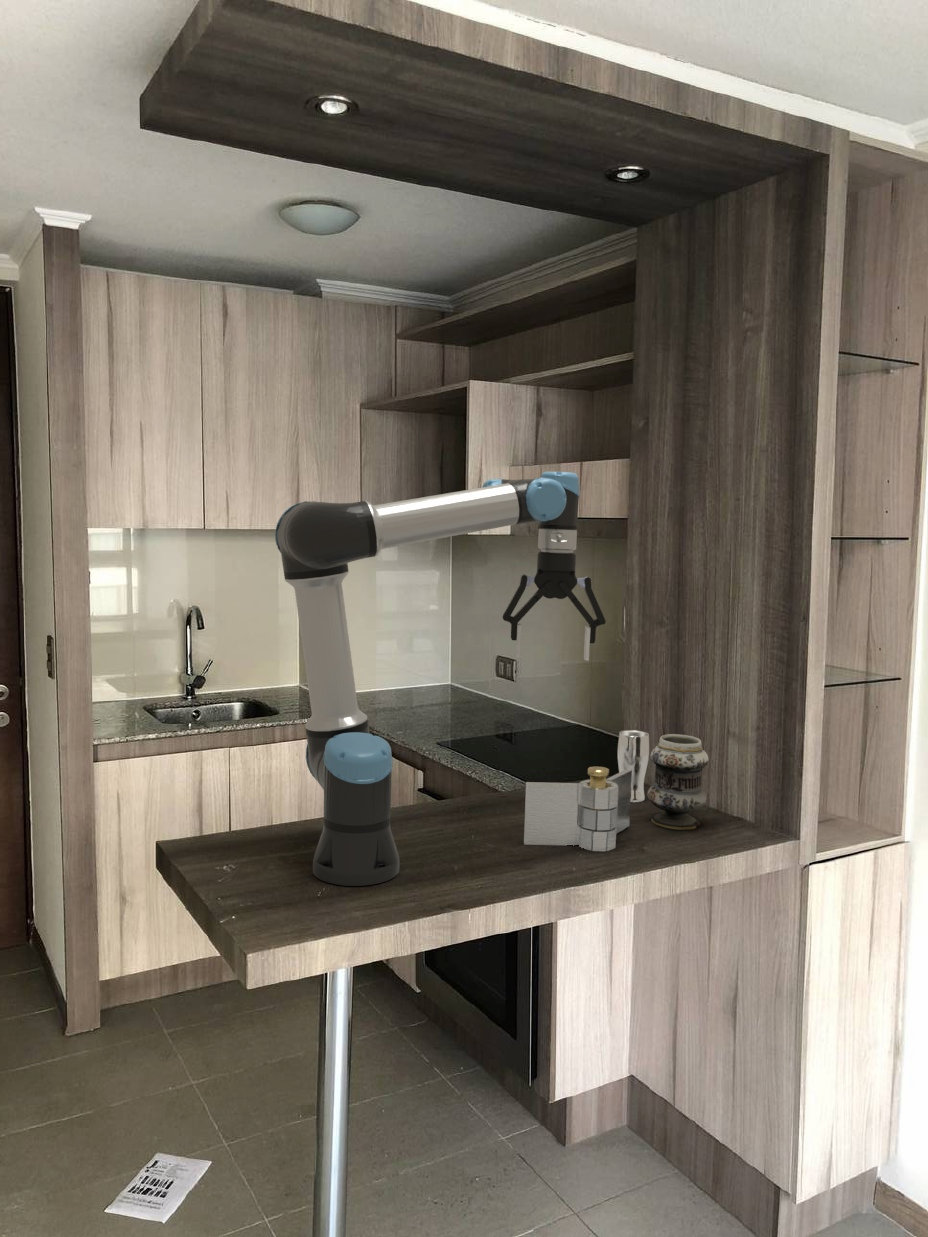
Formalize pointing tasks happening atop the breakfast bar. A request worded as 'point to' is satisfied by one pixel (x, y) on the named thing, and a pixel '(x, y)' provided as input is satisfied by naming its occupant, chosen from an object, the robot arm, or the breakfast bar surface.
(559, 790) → the hinge fixed leaf
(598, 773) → the brass pin
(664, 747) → the apothecary jar
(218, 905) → the breakfast bar surface
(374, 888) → the breakfast bar surface
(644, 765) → the beer glass
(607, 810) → the hinge swing leaf
